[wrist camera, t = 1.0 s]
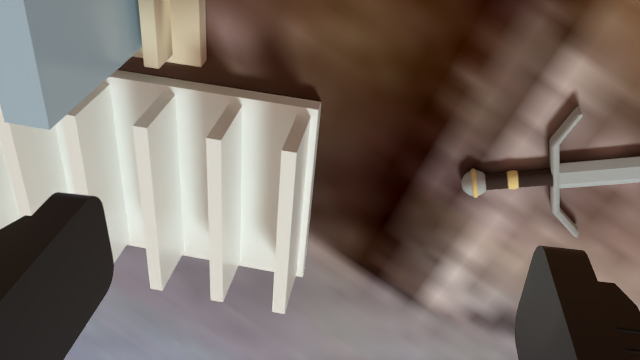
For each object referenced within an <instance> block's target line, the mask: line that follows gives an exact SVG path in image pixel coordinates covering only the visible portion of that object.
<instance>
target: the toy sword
mask: <svg viewBox="0 0 640 360" xmlns="http://www.w3.org/2000/svg"><path fill="white" fill-rule="evenodd" d="M582 116H583V115H582V113H581V111H580V108H579V107H576V108H575V109H574V110H573V111H572V113H571V114H570V115H569V116H568V117H567V119H566V120H565V121H564V122H563V124H562V125H561V126H560V127H559V129H558V130H557V131H556V132H555V133H554V135H553V136H552V137H551V138H550V141H549V154H550V169H541V170H529V171H515V170H511V171H508V172H506V173H494V174H484V173H483V172H481V171H479V170H475V169H474V168H473V169H471V171H469V172H467V173H466V174H465V175H464V176H463V178H462V182H461V184H462V188H463V190H464V191H465V192H466V193H467V194H469V195H471V196H473V197H475V198H476V197H478V196H479V195H481V194H483V193H484V192H485V191H486V190H492V189H505V188H508V189H517V188H519V187H530V186H543V185H550V206H551V210H552V213H553V214H554V215H555V216H556V217H557V218H558V219H559V220H560V222H561V223H562V224H563V225H564V226H565V227H566V228H567V229H568V230H569V231H570V233H571V234H572V235H573V236H575V237H578V235H579V231H578V227H577V226H576V225H575V224H574V223H573V222H572V221H571V219H570V218H569V217H568V216H567V215H566V214H565V213H564V212H563V210H562V209H561V208H560V188H571V187H584V186H597V185H610V184H623V183H636V182H640V156H639V157H628V158H616V159H605V160H593V161H582V162H570V163H559V144H560V143H561V142H562V141H563V139H564V138H565V137H566V136H567V134H568V133H569V132H570V131H571V130H572V128H573V127H574V126H575V125H576V124H577V122H578V121H579V120H580V119H581V118H582Z"/></svg>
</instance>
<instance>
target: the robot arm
mask: <svg viewBox="0 0 640 360" xmlns="http://www.w3.org/2000/svg"><path fill="white" fill-rule="evenodd" d="M113 270H114V261H113V255H112V250H111V244H110V239H109V234H108V229H107V223H106V218H105V213H104V208H103V204H102V202H101V200H100V199H99V198H98V197H96V196H89V195H80V194H70V193H61V192H57V193H54V194H52V195H51V196H50V197H49V198H48V199H47V200H46V201H45V202H44V203H43V204H42V205H41V206H40V207H39V208H38V209H37V211H36V212H35V213H34V214H33V215H32V216H27V215H25V216H23V217H21V218H20V219H18V220H16V221H14V222H12V223H11V224H9V225H7V226H5V227H4V228H2V229H0V360H63V359H64V358H65V356H66V355H67V353H68V352H69V350H70V349H71V347H72V346H73V344H74V343H75V341H76V339H77V338H78V336H79V335H80V333H81V332H82V330H83V329H84V327H85V326H86V324H87V322H88V321H89V319H90V318H91V316H92V315H93V313H94V312H95V310H96V309H97V307H98V306H99V304H100V302H101V301H102V299H103V298H104V296H105V295H106V293H107V291H108V289H109V287H110V284H111V281H112V277H113ZM515 342H516V348H517V353H518V358H519V360H640V311H639V309H638V307H637V306H636V305H635V304H634V303H633V302H632V301H631V300H630V299H629V297H628V296H627V295H626V294H625V293H624V292H623V291H622V290H621V289H620V288H619V287H618V286H617V285H616V284H615V283H607V282H599V281H597V278H596V276H595V273H594V271H593V268H592V266H591V263H590V261H589V258H588V256H587V254H586V253H585V251H583V250H575V249H565V248H556V247H547V246H538V247H537V248H536V250H535V252H534V254H533V257H532V261H531V264H530V267H529V271H528V274H527V278H526V281H525V285H524V288H523V292H522V295H521V299H520V302H519V306H518V309H517V314H516V322H515Z"/></svg>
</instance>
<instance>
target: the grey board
mask: <svg viewBox="0 0 640 360" xmlns="http://www.w3.org/2000/svg"><path fill="white" fill-rule="evenodd" d="M141 48H142V37H141V26H140V15H139V4H138V0H0V106H1V110H2V114H3V118H4V122H6V123H12V124H18V125H24V126H30V127H36V128H42V129H48V130H50V129H51V128H52V127H54V126H55V125H56V124H57V123H58V122H59V121H60V120H61V119H62V118H64V117H65V116H66V115H67V114H68V113H69V112H70V111H71V110H73V109H74V108H75V107H76V106H77V105H78V104H79V103H80V102H82V101H83V100H84V99H85V98H86V97H87V96H88V95H89V94H90V93H92V92H93V91H94V90H95V89H96V88H97V87H98V86H99V85H101V84H102V83H103V82H104V81H105V80H106V79H107V78H108V77H110V76H111V75H112V74H113V73H114V72H115V71H116V70H117V69H118V68H120V67H121V66H122V65H123V64H124V63H125V62H126V61H127V60H129V59H130V58H131V57H132V56H133V55H134V54H135V53H136V52H138V51H139V50H140V49H141Z"/></svg>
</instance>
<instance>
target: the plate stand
mask: <svg viewBox="0 0 640 360" xmlns="http://www.w3.org/2000/svg"><path fill="white" fill-rule="evenodd" d="M138 4H139V15H140V26H141V37H142V48H141V49H140V50H139V51H138V52H136V53H135V54H134V55H133V56H132V57H139V58H143V59H144V67H150V68H157V69H159V68H160V67H161V66H162V65H163V64H164V63H165V62H171V63H178V64H184V65H191V66H197V67H201V66H202V65H203V64H204V63H205V62H206V60H207V52H206V13H205V0H138Z"/></svg>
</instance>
